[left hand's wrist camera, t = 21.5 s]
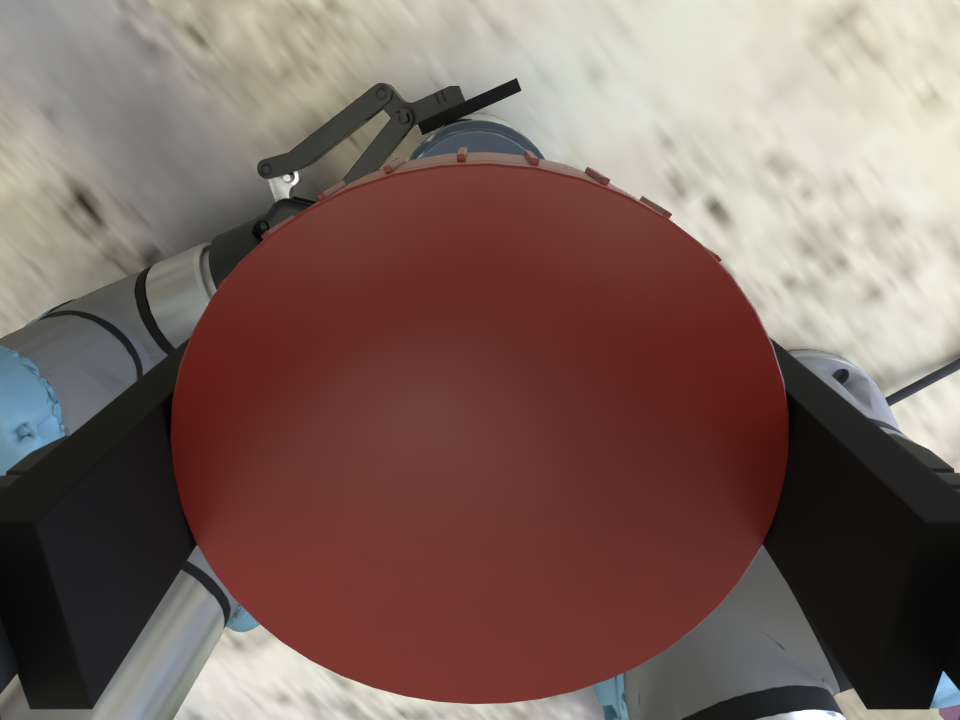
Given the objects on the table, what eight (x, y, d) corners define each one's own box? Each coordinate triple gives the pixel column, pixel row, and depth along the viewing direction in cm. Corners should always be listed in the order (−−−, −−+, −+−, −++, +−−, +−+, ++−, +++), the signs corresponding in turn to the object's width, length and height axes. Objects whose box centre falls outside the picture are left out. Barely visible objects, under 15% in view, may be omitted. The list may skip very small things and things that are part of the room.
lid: (109, 275, 11) (31, 312, 9) (667, 46, 10) (713, 34, 8) (353, 673, 14) (334, 761, 12) (791, 544, 13) (844, 619, 11)
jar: (557, 156, 48) (593, 183, 33) (494, 254, 50) (501, 319, 35) (459, 89, 46) (449, 84, 31) (399, 193, 49) (363, 235, 34)
